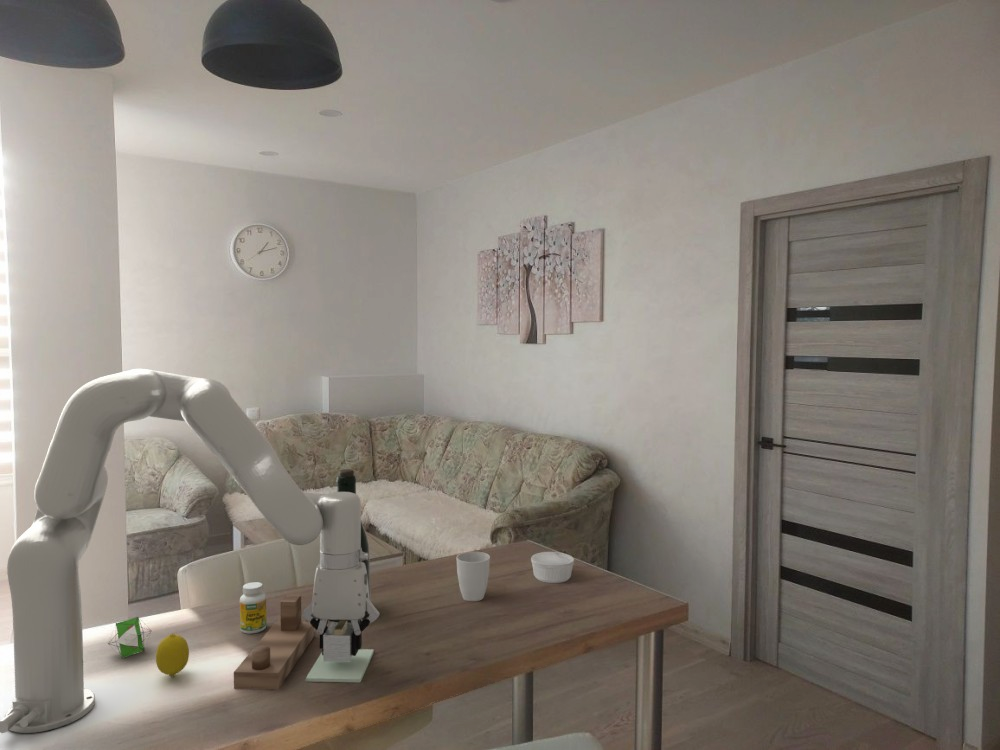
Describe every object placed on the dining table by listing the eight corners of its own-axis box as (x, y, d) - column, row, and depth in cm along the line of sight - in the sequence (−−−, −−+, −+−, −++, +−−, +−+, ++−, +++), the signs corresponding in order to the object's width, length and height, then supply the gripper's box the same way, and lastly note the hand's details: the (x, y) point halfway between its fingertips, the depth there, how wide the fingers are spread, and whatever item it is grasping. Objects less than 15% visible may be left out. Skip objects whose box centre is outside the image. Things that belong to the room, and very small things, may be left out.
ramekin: (582, 577, 183) (582, 557, 182) (557, 588, 174) (557, 567, 174) (548, 567, 190) (548, 548, 190) (522, 578, 182) (522, 558, 181)
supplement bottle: (262, 621, 152) (262, 579, 152) (269, 630, 148) (269, 586, 147) (237, 627, 149) (236, 583, 149) (243, 636, 145) (242, 591, 144)
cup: (496, 595, 169) (496, 555, 168) (477, 606, 162) (477, 564, 161) (468, 588, 173) (469, 549, 173) (449, 599, 166) (449, 558, 166)
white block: (350, 662, 129) (350, 631, 129) (323, 661, 129) (323, 631, 129) (357, 647, 135) (357, 618, 135) (331, 647, 135) (331, 618, 135)
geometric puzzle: (101, 640, 138) (109, 615, 134) (137, 629, 143) (146, 605, 140) (113, 670, 134) (122, 645, 131) (149, 658, 140) (159, 634, 136)
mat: (360, 682, 126) (360, 679, 126) (305, 681, 126) (305, 678, 126) (373, 652, 138) (373, 649, 138) (323, 651, 138) (323, 648, 138)
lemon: (167, 686, 124) (166, 643, 124) (149, 678, 127) (149, 635, 127) (195, 674, 129) (194, 632, 128) (177, 666, 132) (177, 625, 131)
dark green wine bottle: (376, 618, 155) (375, 472, 153) (328, 626, 150) (327, 475, 148) (363, 601, 164) (363, 464, 162) (318, 609, 160) (317, 467, 158)
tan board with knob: (278, 689, 123) (277, 640, 123) (233, 688, 124) (233, 639, 123) (314, 636, 145) (313, 594, 145) (276, 635, 146) (275, 593, 145)
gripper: (388, 553, 135) (388, 644, 136) (301, 551, 135) (302, 642, 136) (381, 565, 127) (381, 662, 128) (289, 564, 127) (289, 660, 128)
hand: (340, 651), depth 132 cm, fingers closed on white block, 5 cm apart
